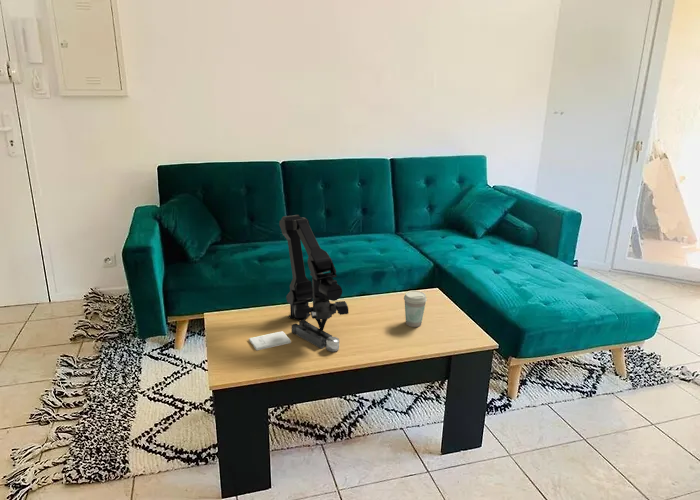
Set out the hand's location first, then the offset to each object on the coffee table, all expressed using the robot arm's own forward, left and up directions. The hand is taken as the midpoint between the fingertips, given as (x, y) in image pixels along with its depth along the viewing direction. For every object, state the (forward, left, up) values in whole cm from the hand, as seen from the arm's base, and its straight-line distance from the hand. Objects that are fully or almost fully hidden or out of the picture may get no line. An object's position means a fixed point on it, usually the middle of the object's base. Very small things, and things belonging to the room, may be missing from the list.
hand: (321, 331), depth 189 cm
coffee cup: (+26, +25, -2) cm, 36 cm away
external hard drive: (-14, -12, -3) cm, 19 cm away
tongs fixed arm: (-3, -5, -2) cm, 6 cm away
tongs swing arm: (0, -4, -1) cm, 4 cm away
